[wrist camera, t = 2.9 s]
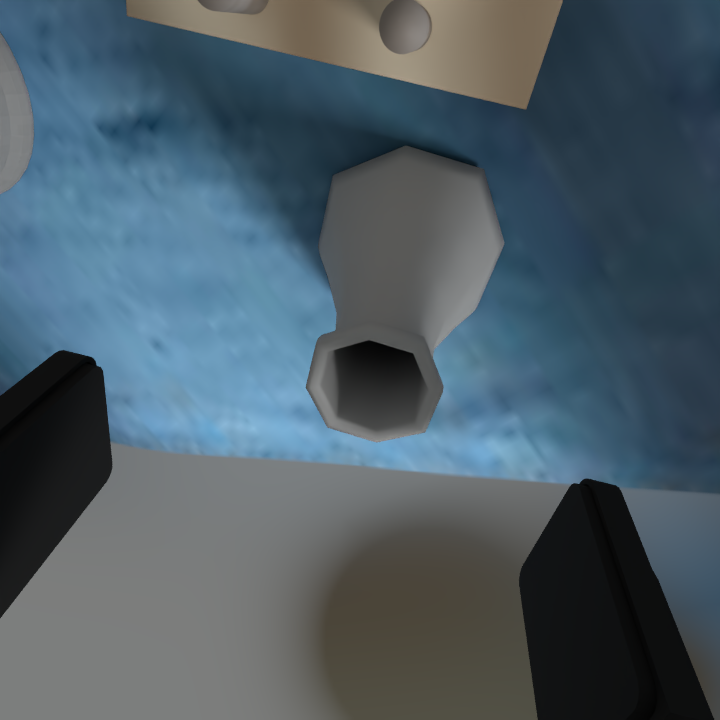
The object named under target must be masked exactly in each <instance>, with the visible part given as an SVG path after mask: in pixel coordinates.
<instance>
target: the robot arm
mask: <svg viewBox="0 0 720 720" xmlns="http://www.w3.org/2000/svg"><path fill="white" fill-rule="evenodd" d="M111 470H112V455H111V445H110V435H109V425H108V415H107V405H106V395H105V385H104V375H103V370H102V368H101V367H99V366H97V365H96V361H95V360H94V358H92V357H89V356H85V355H81V354H77V353H73V352H69V351H65V350H61V351H58V352H56V353H55V354H53V355H52V356H51V357H49V358H48V359H47V360H46V361H44V362H43V363H42V364H41V365H39V366H38V367H37V368H35V369H34V370H33V371H32V372H30V373H29V374H28V375H27V376H25V377H24V378H23V379H21V380H20V381H19V382H18V383H16V384H15V385H14V386H12V387H11V388H10V389H9V390H7V391H6V392H5V393H4V394H2V395H1V396H0V618H1V617H2V615H3V614H4V613H5V611H6V610H7V609H8V608H9V606H10V605H11V604H12V603H13V601H14V600H15V599H16V597H17V596H18V595H19V594H20V592H21V591H22V590H23V588H24V587H25V586H26V585H27V583H28V582H29V581H30V579H31V578H32V577H33V576H34V574H35V573H36V572H37V570H38V569H39V568H40V567H41V565H42V564H43V563H44V561H45V560H46V559H47V557H48V556H49V555H50V554H51V552H52V551H53V550H54V548H55V547H56V546H57V545H58V544H59V542H60V541H61V540H62V538H63V537H64V536H65V535H66V533H67V532H68V531H69V529H70V528H71V527H72V525H73V524H74V523H75V522H76V520H77V519H78V518H79V516H80V515H81V514H82V513H83V511H84V510H85V509H86V507H87V506H88V505H89V504H90V502H91V501H92V500H93V499H94V497H95V496H96V495H97V493H98V492H99V491H100V490H101V488H102V487H103V486H104V484H105V483H106V482H107V480H108V478H109V476H110V474H111ZM519 587H520V594H521V601H522V608H523V615H524V623H525V630H526V636H527V644H528V651H529V659H530V666H531V673H532V680H533V688H534V695H535V702H536V710H537V717H538V720H714V718H713V716H712V713H711V711H710V708H709V706H708V703H707V701H706V698H705V696H704V693H703V691H702V688H701V686H700V683H699V681H698V678H697V676H696V673H695V671H694V668H693V666H692V663H691V661H690V658H689V656H688V653H687V651H686V648H685V646H684V643H683V641H682V638H681V636H680V633H679V631H678V628H677V626H676V623H675V621H674V618H673V616H672V613H671V611H670V608H669V606H668V603H667V601H666V598H665V596H664V593H663V591H662V588H661V586H660V583H659V581H658V579H657V577H656V575H655V573H654V571H653V570H652V568H651V566H650V563H649V560H648V558H647V555H646V553H645V550H644V547H643V545H642V542H641V540H640V537H639V535H638V532H637V530H636V527H635V525H634V522H633V520H632V517H631V515H630V512H629V510H628V507H627V505H626V502H625V500H624V497H623V495H622V492H621V490H620V489H619V487H617V486H616V485H612V484H608V483H604V482H600V481H596V480H591V479H584V480H582V481H581V482H580V484H575V483H574V484H572V485H571V486H570V487H569V489H568V491H567V492H566V494H565V496H564V497H563V499H562V501H561V502H560V504H559V506H558V507H557V509H556V511H555V512H554V514H553V516H552V518H551V519H550V521H549V522H548V524H547V526H546V527H545V529H544V531H543V532H542V534H541V536H540V538H539V539H538V541H537V543H536V544H535V546H534V547H533V549H532V551H531V552H530V554H529V556H528V557H527V559H526V561H525V563H524V564H523V566H522V568H521V572H520V577H519Z"/></svg>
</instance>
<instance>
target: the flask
mask: <svg viewBox="0 0 720 720" xmlns="http://www.w3.org/2000/svg"><path fill="white" fill-rule="evenodd" d="M503 246H504V240H503V237H502V233H501V229H500V226H499V222H498V219H497V215H496V211H495V208H494V204H493V201H492V197H491V193H490V190H489V186H488V183H487V179H486V175H485V172H484V169H481V168H478V167H475V166H472V165H468V164H465V163H462V162H458V161H455V160H452V159H449V158H445V157H442V156H439V155H436V154H432V153H429V152H426V151H422V150H419V149H416V148H413V147H409V146H403V147H401V148H398V149H396V150H393V151H391V152H388V153H386V154H384V155H381V156H379V157H376V158H374V159H371V160H369V161H366V162H364V163H362V164H359V165H357V166H354V167H352V168H349V169H347V170H344V171H342V172H340V173H337V174H335V175H333V177H332V182H331V187H330V192H329V196H328V201H327V206H326V210H325V215H324V220H323V224H322V229H321V234H320V238H319V243H318V249H319V253H320V256H321V259H322V262H323V265H324V268H325V271H326V274H327V277H328V280H329V284H330V288H331V292H332V296H333V300H334V304H335V308H336V312H337V317H336V331H333V332H330V333H327V334H323V335H321V336H320V337H319V338H318V340H317V342H316V346H315V350H314V354H313V359H312V363H311V367H310V371H309V375H308V380H307V384H306V389H307V391H308V392H309V394H310V396H311V398H312V400H313V402H314V403H315V405H316V407H317V409H318V411H319V413H320V415H321V416H322V418H323V420H324V422H325V424H326V426H327V427H328V428H331V429H334V430H337V431H341V432H344V433H347V434H351V435H354V436H357V437H360V438H364V439H367V440H370V441H373V442H381V441H386V440H390V439H395V438H400V437H405V436H410V435H415V434H420V433H425V431H426V429H427V427H428V425H429V422H430V420H431V418H432V415H433V413H434V411H435V409H436V406H437V404H438V402H439V399H440V397H441V395H442V393H443V384H442V381H441V378H440V376H439V373H438V370H437V368H436V365H435V363H434V360H433V353H434V349H435V348H436V347H437V346H438V345H439V344H440V343H441V342H442V341H443V340H444V339H445V338H446V337H447V336H448V334H449V333H450V332H451V331H452V330H453V329H454V328H455V327H456V326H458V325H459V324H460V323H461V322H462V321H463V320H465V319H466V318H467V317H468V316H469V315H470V314H472V312H473V311H474V310H475V309H476V308H477V306H478V304H479V301H480V299H481V297H482V294H483V292H484V290H485V287H486V285H487V283H488V280H489V278H490V276H491V274H492V271H493V269H494V267H495V264H496V262H497V260H498V257H499V255H500V253H501V251H502V248H503Z"/></svg>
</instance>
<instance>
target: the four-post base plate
mask: <svg viewBox="0 0 720 720" xmlns="http://www.w3.org/2000/svg"><path fill="white" fill-rule="evenodd" d="M562 2H563V0H126V5H127V16H129V17H133V18H138V19H142V20H146V21H150V22H155V23H159V24H163V25H168V26H172V27H176V28H180V29H185V30H189V31H193V32H197V33H202V34H206V35H210V36H214V37H219V38H223V39H227V40H231V41H236V42H240V43H244V44H249V45H253V46H257V47H261V48H266V49H270V50H274V51H278V52H283V53H287V54H291V55H295V56H300V57H304V58H308V59H313V60H317V61H321V62H325V63H330V64H334V65H338V66H342V67H347V68H351V69H355V70H359V71H364V72H368V73H372V74H377V75H381V76H385V77H389V78H394V79H398V80H402V81H406V82H411V83H415V84H419V85H423V86H428V87H432V88H436V89H441V90H445V91H449V92H453V93H458V94H462V95H466V96H470V97H475V98H479V99H483V100H487V101H492V102H496V103H500V104H505V105H509V106H513V107H517V108H522V109H526V108H527V105H528V102H529V99H530V96H531V93H532V90H533V87H534V84H535V81H536V78H537V75H538V72H539V69H540V67H541V64H542V61H543V58H544V55H545V52H546V49H547V46H548V43H549V40H550V37H551V34H552V31H553V28H554V25H555V22H556V19H557V16H558V13H559V10H560V8H561V5H562Z"/></svg>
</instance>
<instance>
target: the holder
mask: <svg viewBox="0 0 720 720" xmlns="http://www.w3.org/2000/svg"><path fill="white" fill-rule="evenodd" d="M33 139H34V126H33V113H32V108H31V103H30V98H29V93H28V90H27V88H26V85H25V82H24V79H23V76H22V73H21V70H20V68H19V66H18V64H17V62H16V60H15V58H14V56H13V53H12V51H11V49H10V47H9V45H8V44H7V42H6V41H5V39H4V37H3V36H2V34H1V33H0V194H2V193H3V192H5V191H7V190H9V189H10V188H11V187H12V186H14V185H15V184H16V183H17V182H18V181H19V180H20V178H21V177H22V175H23V173H24V172H25V170H26V169H27V166H28V163H29V160H30V157H31V154H32V148H33Z"/></svg>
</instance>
